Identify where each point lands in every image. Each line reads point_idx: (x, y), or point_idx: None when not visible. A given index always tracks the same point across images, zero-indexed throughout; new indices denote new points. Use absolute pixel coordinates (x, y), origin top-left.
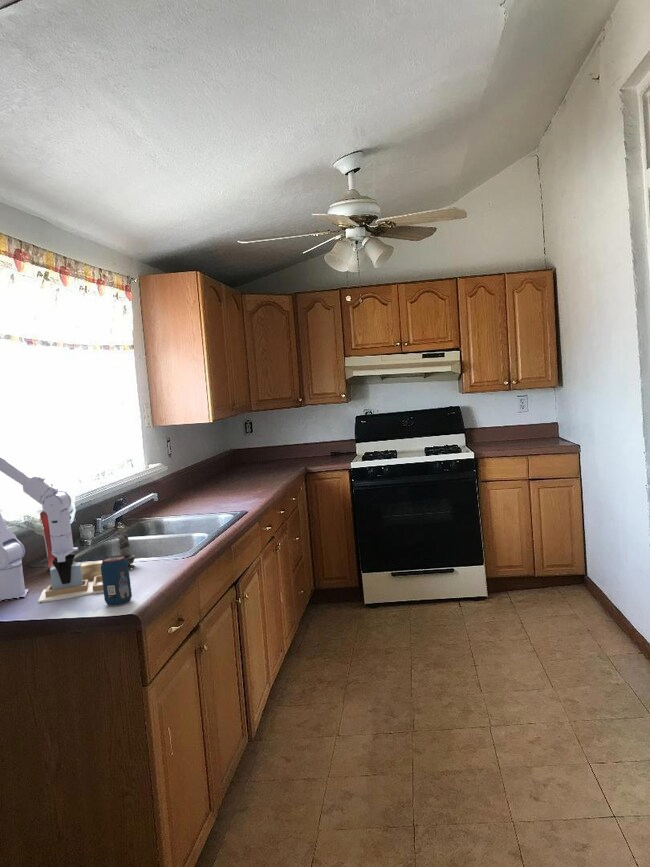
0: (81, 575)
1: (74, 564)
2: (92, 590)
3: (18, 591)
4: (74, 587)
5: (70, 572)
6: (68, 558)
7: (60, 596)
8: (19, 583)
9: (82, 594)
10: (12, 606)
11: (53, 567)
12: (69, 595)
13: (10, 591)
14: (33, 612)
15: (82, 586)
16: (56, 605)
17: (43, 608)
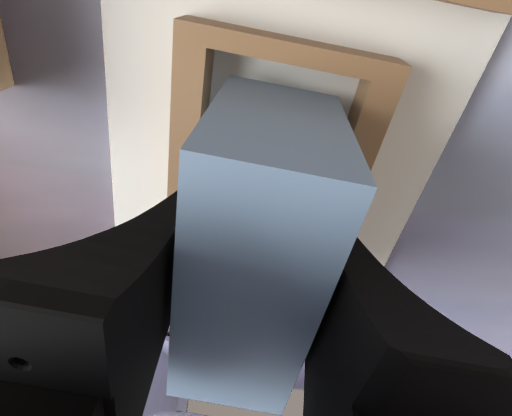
0: (287, 111)
1: (230, 232)
2: (451, 12)
3: (166, 379)
4: (371, 165)
5: (374, 257)
6: (136, 344)
7: (377, 235)
8: (146, 411)
9: (460, 106)
10: (302, 378)
11: (198, 387)
12: (412, 190)
13: (175, 407)
14: (508, 344)
15: (397, 103)
16: (507, 261)
17: (488, 310)
